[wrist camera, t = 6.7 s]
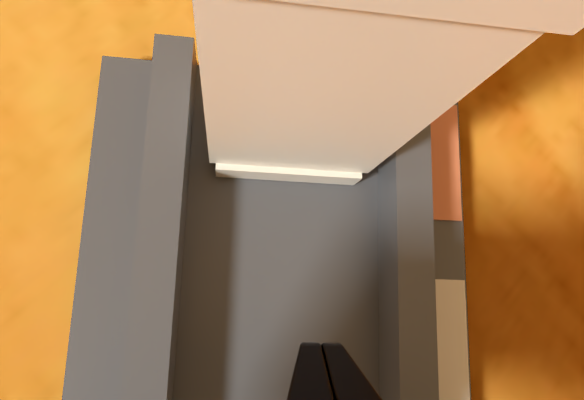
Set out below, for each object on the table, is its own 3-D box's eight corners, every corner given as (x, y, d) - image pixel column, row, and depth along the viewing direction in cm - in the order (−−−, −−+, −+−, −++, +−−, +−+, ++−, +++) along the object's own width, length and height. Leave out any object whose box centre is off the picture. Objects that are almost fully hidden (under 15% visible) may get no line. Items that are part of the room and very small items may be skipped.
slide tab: (364, 185, 16) (619, 2, 6) (204, 175, 15) (165, -58, 5) (364, 111, 17) (597, -181, 6) (209, 97, 16) (183, -259, 6)
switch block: (459, 543, 16) (513, 601, 13) (55, 563, 14) (10, 636, 11) (442, 101, 19) (483, 67, 16) (110, 72, 17) (87, 26, 14)
